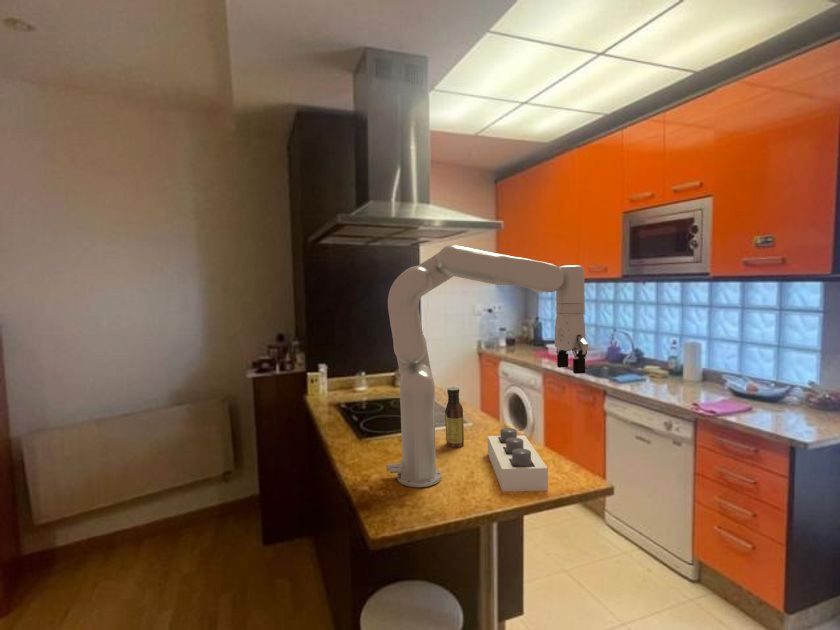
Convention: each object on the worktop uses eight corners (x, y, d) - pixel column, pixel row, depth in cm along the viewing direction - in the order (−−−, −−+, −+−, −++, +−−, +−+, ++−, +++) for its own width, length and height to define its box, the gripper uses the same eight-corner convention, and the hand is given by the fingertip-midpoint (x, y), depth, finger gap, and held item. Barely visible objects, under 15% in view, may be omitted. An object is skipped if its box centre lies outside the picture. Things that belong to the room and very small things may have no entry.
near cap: (514, 475, 116) (514, 455, 115) (510, 468, 121) (510, 448, 120) (533, 475, 116) (532, 455, 115) (528, 467, 121) (528, 448, 120)
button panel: (502, 491, 114) (502, 469, 114) (487, 454, 140) (487, 436, 140) (548, 490, 114) (547, 468, 114) (525, 453, 140) (524, 435, 140)
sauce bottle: (453, 440, 154) (451, 385, 153) (467, 444, 150) (466, 387, 149) (442, 446, 149) (440, 388, 148) (457, 449, 145) (456, 391, 144)
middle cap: (507, 462, 125) (507, 443, 124) (504, 455, 130) (504, 437, 129) (525, 462, 125) (525, 443, 124) (521, 455, 130) (521, 437, 129)
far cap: (502, 450, 134) (502, 433, 133) (499, 445, 139) (499, 428, 138) (518, 450, 134) (518, 433, 133) (515, 444, 139) (514, 427, 138)
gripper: (544, 309, 130) (545, 365, 131) (572, 311, 113) (572, 376, 114) (568, 308, 131) (568, 364, 132) (599, 310, 114) (599, 375, 115)
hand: (570, 370), depth 123 cm, fingers open, 9 cm apart
